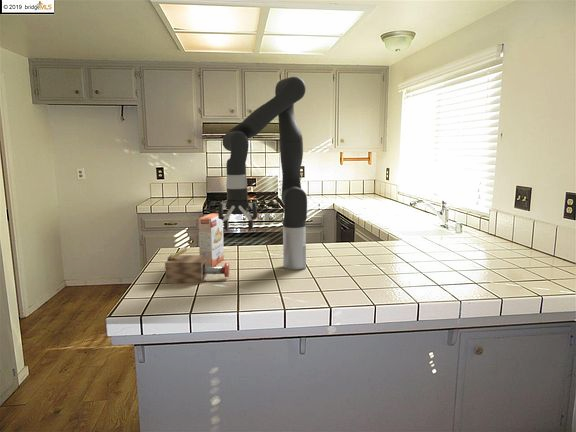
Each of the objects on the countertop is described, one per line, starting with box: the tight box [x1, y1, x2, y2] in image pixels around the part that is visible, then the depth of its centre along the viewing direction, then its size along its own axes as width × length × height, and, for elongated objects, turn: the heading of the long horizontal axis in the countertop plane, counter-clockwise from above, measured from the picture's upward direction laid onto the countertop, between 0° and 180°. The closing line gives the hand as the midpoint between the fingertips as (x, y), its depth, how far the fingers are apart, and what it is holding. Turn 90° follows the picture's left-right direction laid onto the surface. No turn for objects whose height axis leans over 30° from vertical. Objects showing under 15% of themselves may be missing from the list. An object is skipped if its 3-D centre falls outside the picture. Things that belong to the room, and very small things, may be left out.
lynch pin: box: [203, 262, 230, 278], centre depth 154 cm, size 15×5×5 cm, turn 90°
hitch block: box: [164, 254, 208, 285], centre depth 154 cm, size 13×10×8 cm
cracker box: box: [197, 212, 225, 267], centre depth 173 cm, size 14×6×21 cm, turn 168°
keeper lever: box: [167, 247, 188, 260], centre depth 153 cm, size 7×4×1 cm, turn 90°
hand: (238, 230), depth 152 cm, fingers open, 8 cm apart
